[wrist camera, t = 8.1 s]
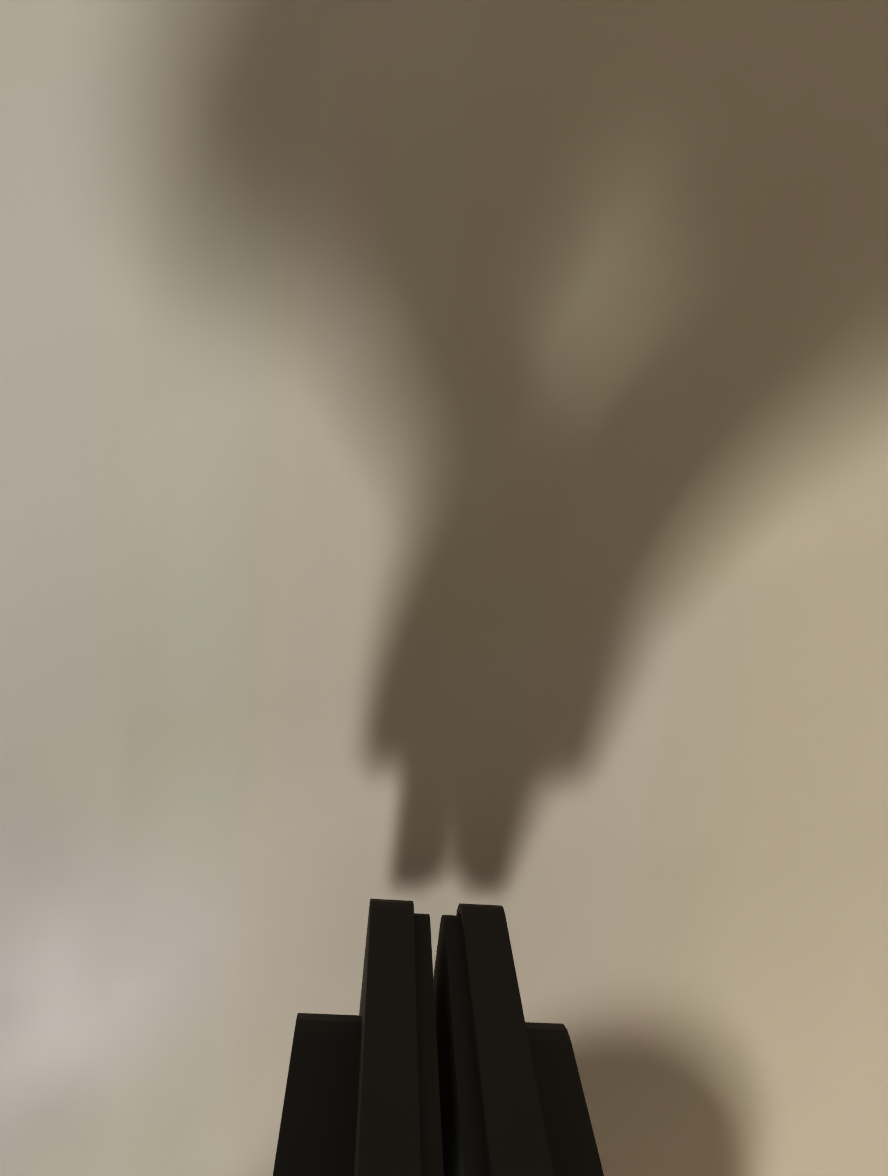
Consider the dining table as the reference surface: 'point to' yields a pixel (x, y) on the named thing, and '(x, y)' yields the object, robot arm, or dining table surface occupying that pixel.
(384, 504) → the dining table surface
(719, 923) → the dining table surface
